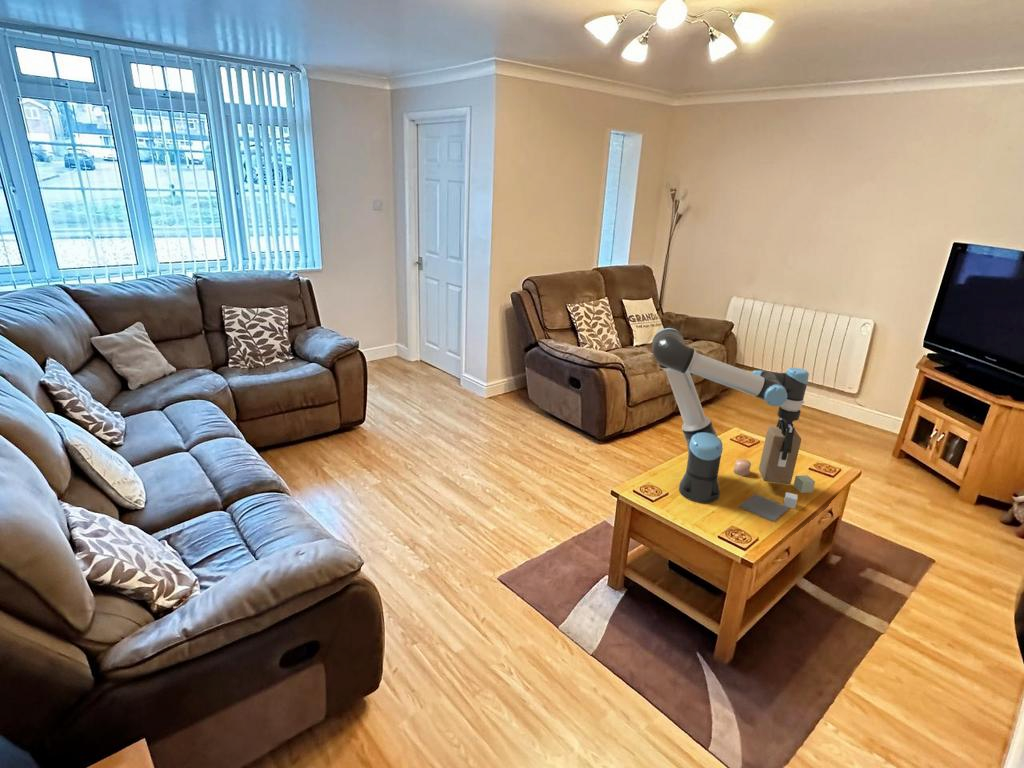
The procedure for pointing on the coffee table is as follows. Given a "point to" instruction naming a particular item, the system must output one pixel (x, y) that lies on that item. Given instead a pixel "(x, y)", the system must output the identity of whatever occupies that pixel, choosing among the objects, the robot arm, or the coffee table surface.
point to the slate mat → (764, 507)
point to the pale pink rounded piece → (742, 467)
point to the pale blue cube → (790, 500)
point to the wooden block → (771, 457)
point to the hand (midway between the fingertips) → (778, 459)
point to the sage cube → (804, 484)
